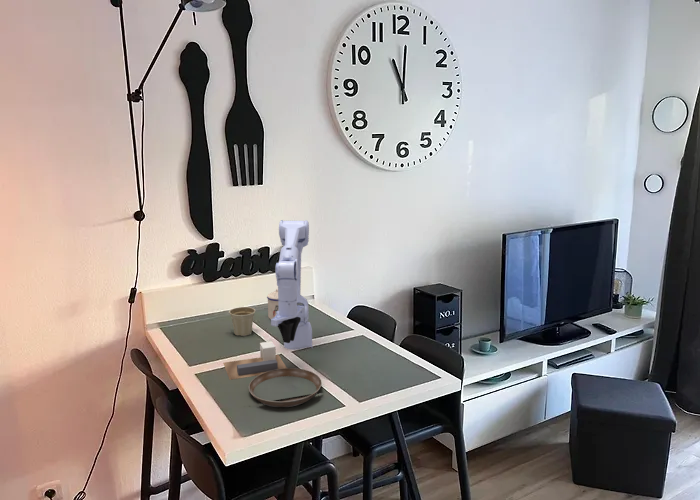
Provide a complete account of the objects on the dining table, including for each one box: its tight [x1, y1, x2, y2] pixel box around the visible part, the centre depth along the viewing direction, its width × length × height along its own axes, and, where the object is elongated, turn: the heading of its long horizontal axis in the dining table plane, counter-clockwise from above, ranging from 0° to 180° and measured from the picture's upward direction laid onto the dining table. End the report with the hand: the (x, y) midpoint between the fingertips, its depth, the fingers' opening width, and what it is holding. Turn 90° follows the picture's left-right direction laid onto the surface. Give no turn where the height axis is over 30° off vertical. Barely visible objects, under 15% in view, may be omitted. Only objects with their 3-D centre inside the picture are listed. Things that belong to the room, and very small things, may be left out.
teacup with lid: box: [266, 288, 279, 320], centre depth 222 cm, size 12×9×12 cm
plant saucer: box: [248, 367, 322, 408], centre depth 160 cm, size 21×21×3 cm
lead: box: [237, 359, 278, 376], centre depth 171 cm, size 12×3×2 cm, turn 111°
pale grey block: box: [259, 341, 277, 361], centre depth 180 cm, size 4×5×5 cm
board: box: [222, 354, 288, 381], centre depth 175 cm, size 18×13×1 cm
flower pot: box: [228, 306, 256, 337], centre depth 205 cm, size 9×9×9 cm
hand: (288, 341), depth 173 cm, fingers closed
